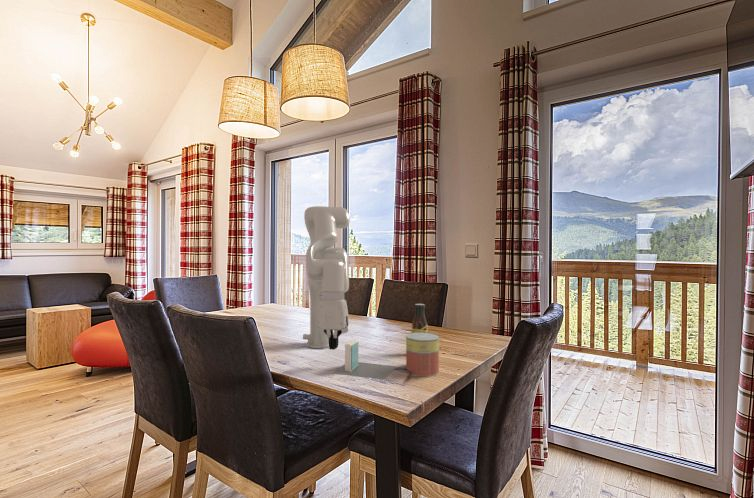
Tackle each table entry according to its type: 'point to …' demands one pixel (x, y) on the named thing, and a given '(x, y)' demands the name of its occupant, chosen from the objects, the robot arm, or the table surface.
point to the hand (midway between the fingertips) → (333, 348)
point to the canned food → (422, 354)
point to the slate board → (367, 370)
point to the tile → (351, 355)
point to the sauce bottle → (419, 320)
